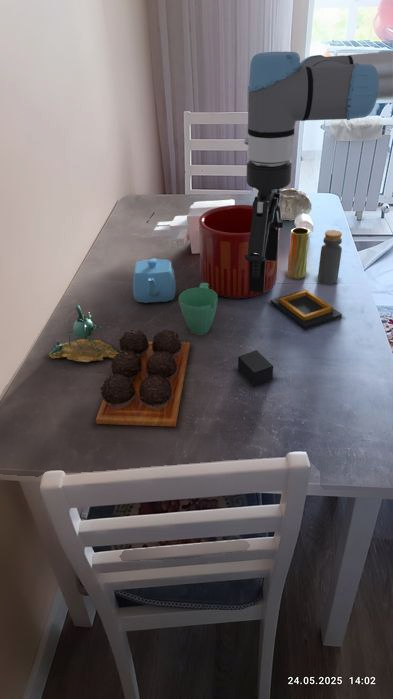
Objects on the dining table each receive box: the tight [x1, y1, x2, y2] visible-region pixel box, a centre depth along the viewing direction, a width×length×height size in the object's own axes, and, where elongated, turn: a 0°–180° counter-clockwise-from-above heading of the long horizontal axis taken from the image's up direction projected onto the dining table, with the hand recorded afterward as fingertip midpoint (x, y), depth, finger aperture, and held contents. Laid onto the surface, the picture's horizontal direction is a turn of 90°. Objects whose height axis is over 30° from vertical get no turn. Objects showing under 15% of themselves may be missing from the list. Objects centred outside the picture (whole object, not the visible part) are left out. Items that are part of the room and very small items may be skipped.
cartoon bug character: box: [48, 305, 120, 363], centre depth 117 cm, size 10×18×15 cm, turn 80°
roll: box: [293, 214, 315, 236], centre depth 174 cm, size 6×12×6 cm, turn 178°
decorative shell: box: [281, 187, 313, 221], centre depth 186 cm, size 18×18×10 cm
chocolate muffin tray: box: [95, 328, 191, 428], centre depth 108 cm, size 28×17×8 cm, turn 175°
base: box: [269, 288, 343, 331], centre depth 132 cm, size 16×12×2 cm
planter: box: [199, 204, 281, 299], centre depth 142 cm, size 23×23×20 cm
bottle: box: [317, 229, 343, 285], centre depth 142 cm, size 6×6×15 cm
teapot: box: [132, 257, 177, 304], centre depth 138 cm, size 12×18×12 cm
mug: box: [178, 283, 219, 336], centre depth 126 cm, size 15×10×10 cm
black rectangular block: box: [237, 349, 274, 387], centre depth 110 cm, size 7×5×4 cm
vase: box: [286, 227, 310, 280], centre depth 146 cm, size 6×6×14 cm
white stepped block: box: [153, 199, 235, 254], centre depth 167 cm, size 15×25×28 cm
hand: (263, 274), depth 93 cm, fingers open, 13 cm apart
